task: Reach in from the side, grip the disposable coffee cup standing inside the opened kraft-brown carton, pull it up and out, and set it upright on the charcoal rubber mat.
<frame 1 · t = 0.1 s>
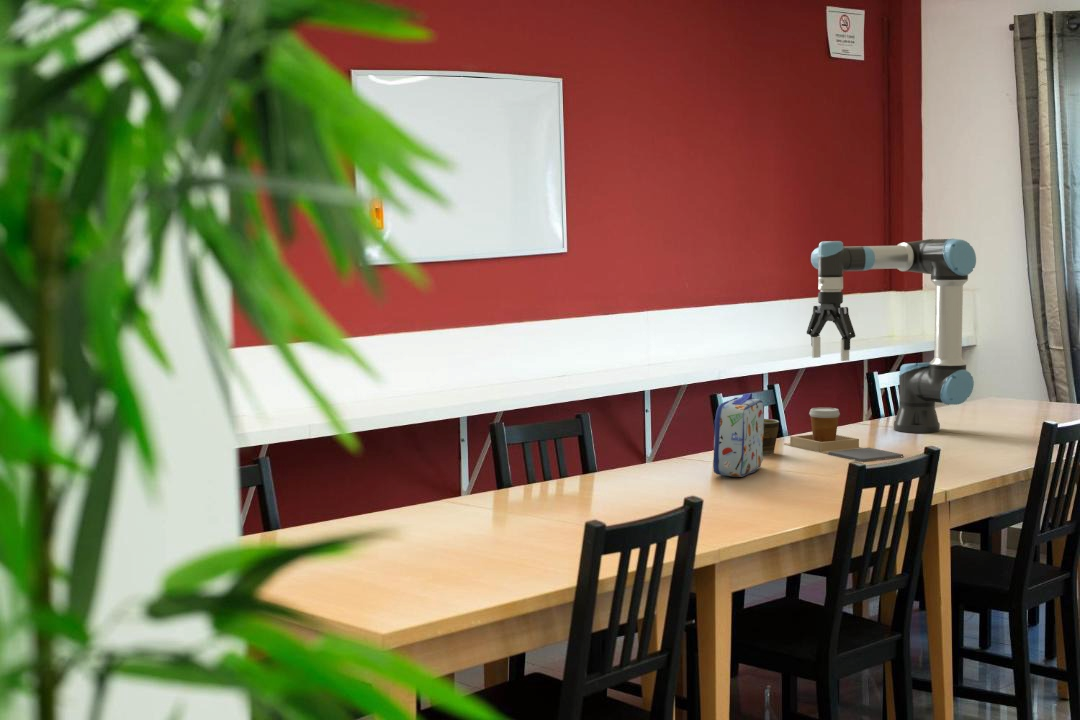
hand: (830, 359, 404), 28 cm above the table, tool pointing down, fingers open, 13 cm apart
ceramic cup: (760, 454, 396), on the table
opened carton: (824, 447, 407), on the table
disposable coffee cup: (824, 447, 407), resting in opened carton
charcoal mat: (865, 455, 391), on the table
lunch box: (738, 473, 365), on the table
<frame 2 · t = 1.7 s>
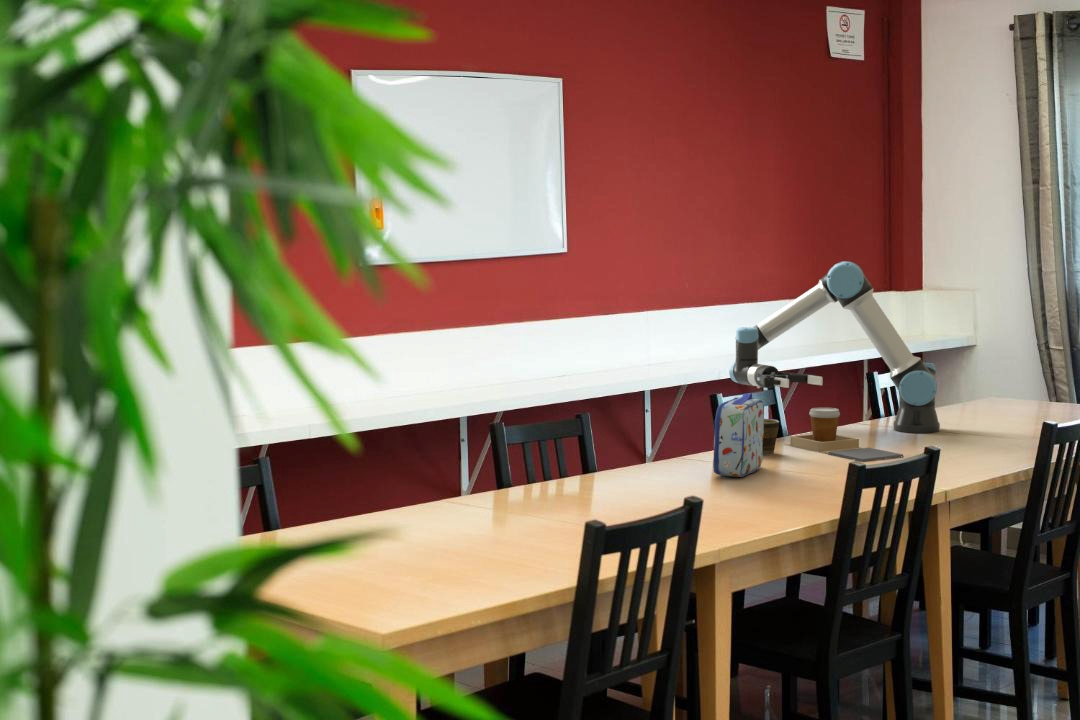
hand: (805, 382, 414), 20 cm above the table, tool horizontal, fingers open, 13 cm apart
nothing on the table moved.
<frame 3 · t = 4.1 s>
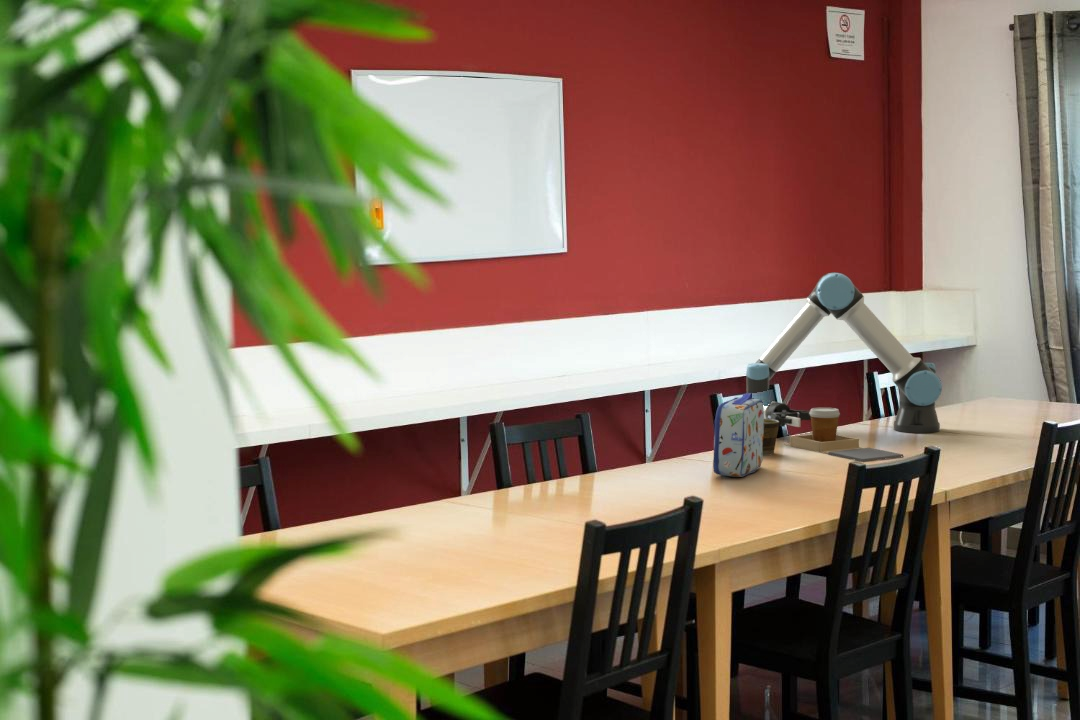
hand: (816, 421, 409), 8 cm above the table, tool horizontal, fingers open, 13 cm apart
nothing on the table moved.
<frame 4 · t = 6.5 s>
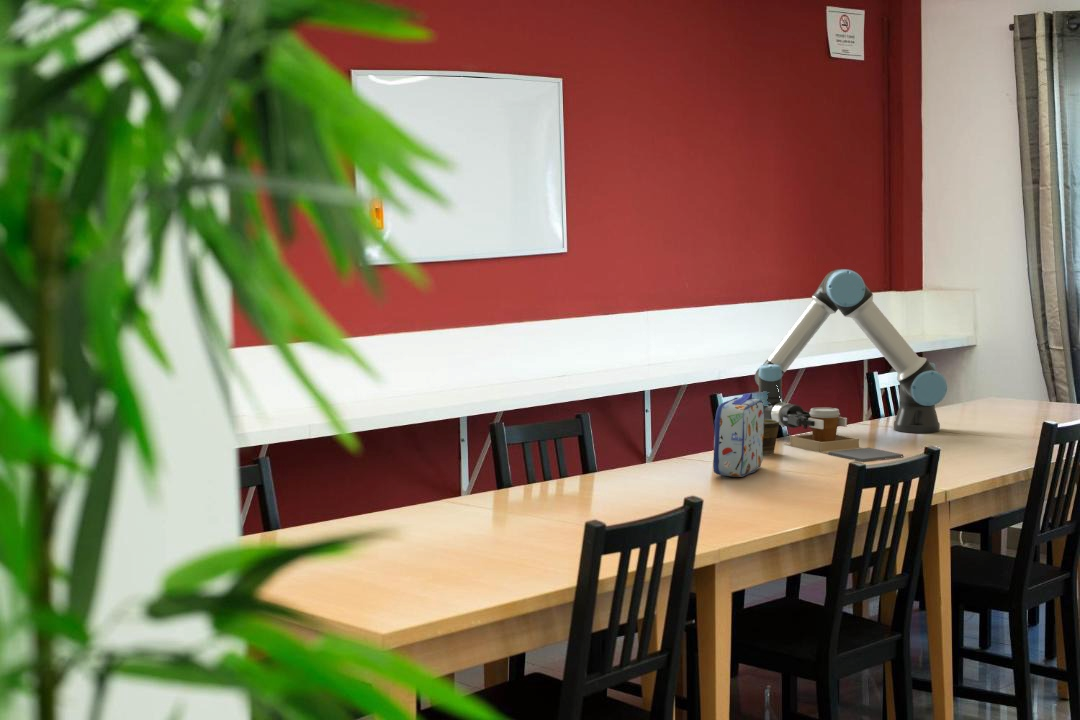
hand: (834, 423, 402), 8 cm above the table, tool horizontal, fingers closed on disposable coffee cup, 8 cm apart
disposable coffee cup: (824, 447, 407), resting in opened carton, touching gripper
everything else where it was.
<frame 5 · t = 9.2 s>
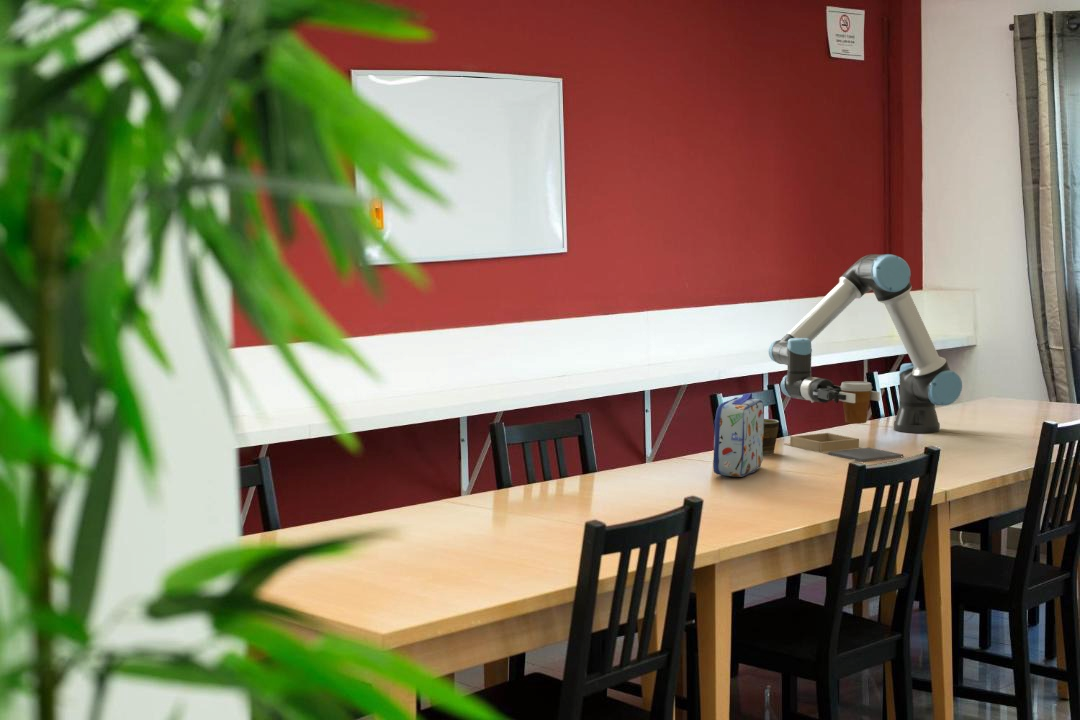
hand: (866, 397, 387), 18 cm above the table, tool horizontal, fingers closed on disposable coffee cup, 8 cm apart
disposable coffee cup: (855, 422, 392), point 10 cm above the table, touching gripper
everything else where it was.
when the fingers open (10 cm above the table, at t = 11.9 s): disposable coffee cup drops 1 cm, resting on charcoal mat.
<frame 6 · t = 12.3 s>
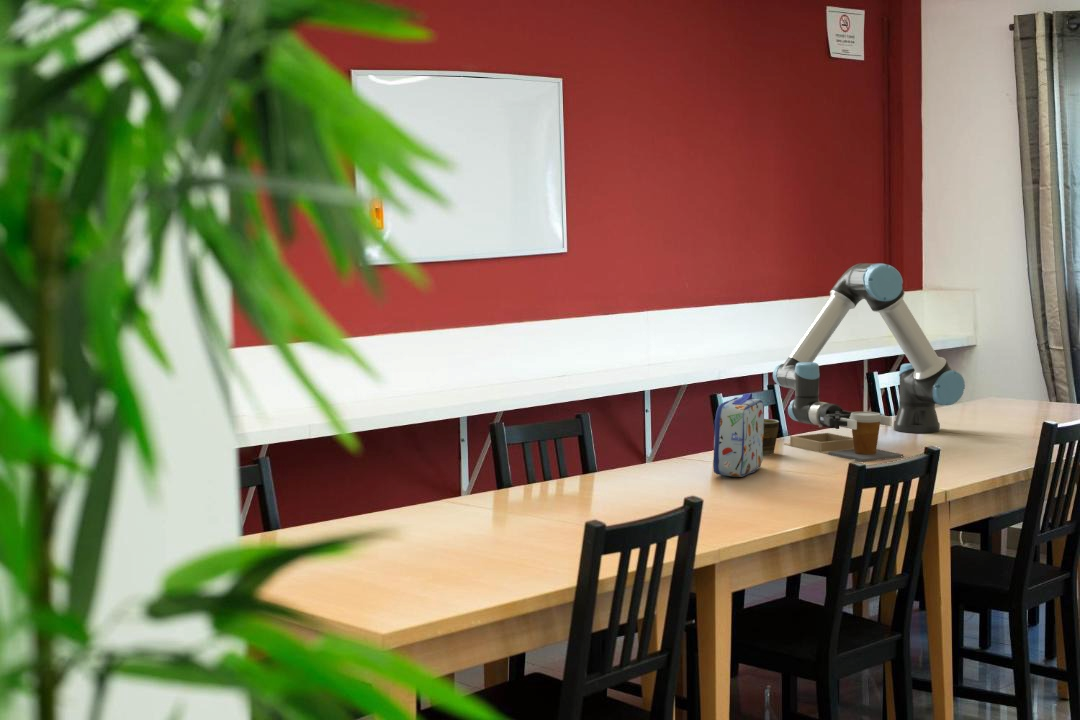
hand: (873, 423, 387), 10 cm above the table, tool horizontal, fingers open, 13 cm apart
disposable coffee cup: (865, 453, 391), point 1 cm above the table, touching charcoal mat
everything else where it was.
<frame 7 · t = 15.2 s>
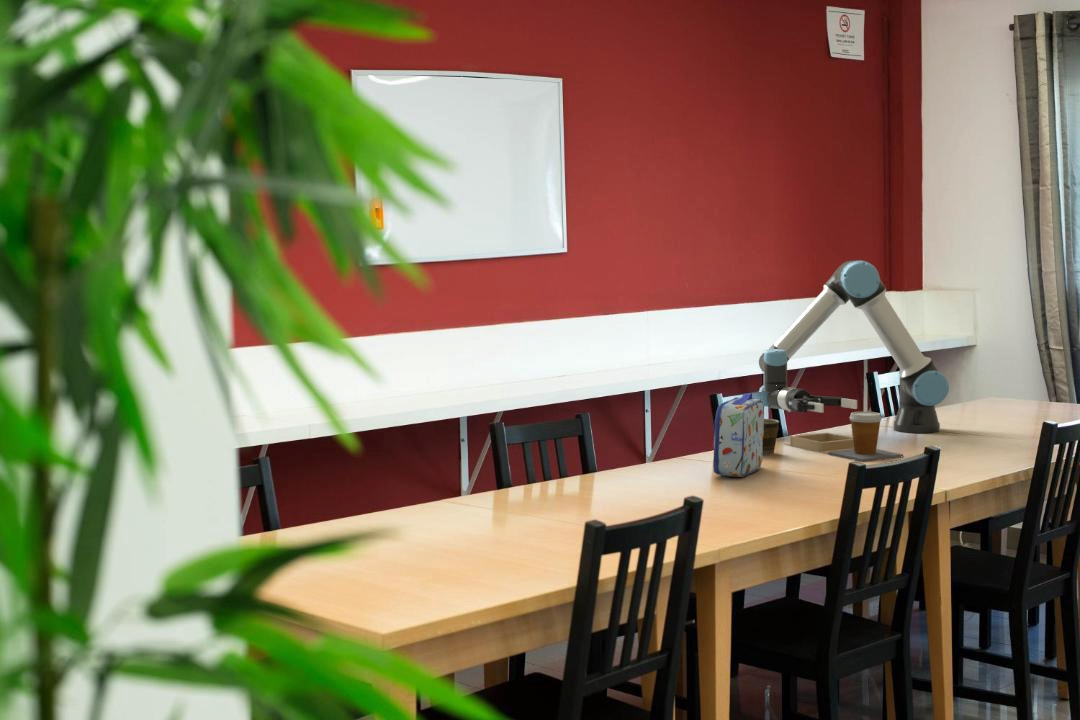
hand: (839, 406, 402), 13 cm above the table, tool horizontal, fingers open, 13 cm apart
nothing on the table moved.
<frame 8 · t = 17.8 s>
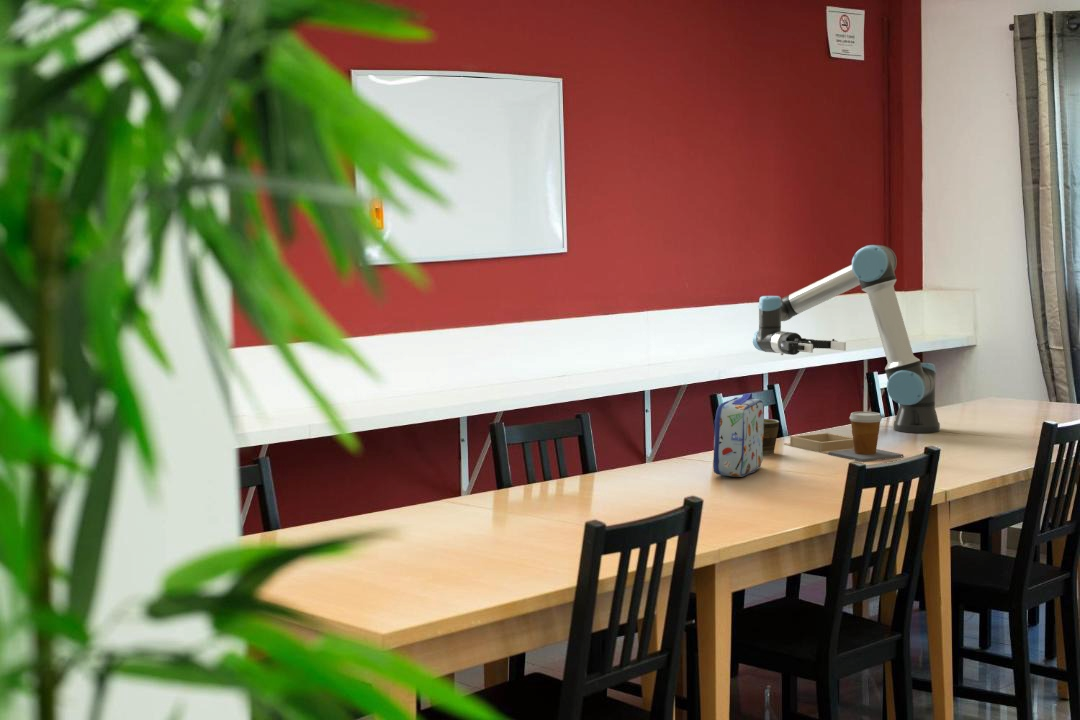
hand: (828, 347, 421), 30 cm above the table, tool horizontal, fingers open, 13 cm apart
nothing on the table moved.
at the end: disposable coffee cup inside the target area on the charcoal mat (0.3 cm from its centre), point 0.6 cm above the charcoal mat's base; disposable coffee cup tilted 0°; the gripper is holding nothing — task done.
